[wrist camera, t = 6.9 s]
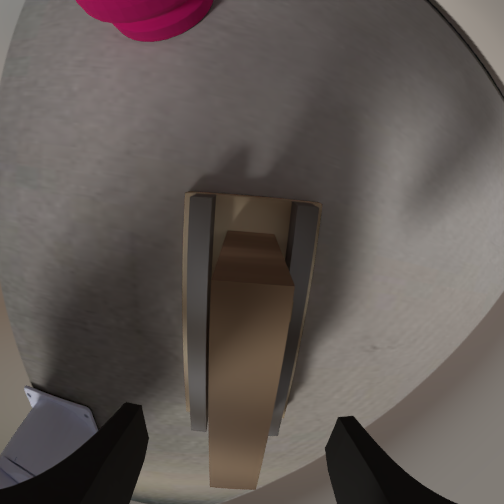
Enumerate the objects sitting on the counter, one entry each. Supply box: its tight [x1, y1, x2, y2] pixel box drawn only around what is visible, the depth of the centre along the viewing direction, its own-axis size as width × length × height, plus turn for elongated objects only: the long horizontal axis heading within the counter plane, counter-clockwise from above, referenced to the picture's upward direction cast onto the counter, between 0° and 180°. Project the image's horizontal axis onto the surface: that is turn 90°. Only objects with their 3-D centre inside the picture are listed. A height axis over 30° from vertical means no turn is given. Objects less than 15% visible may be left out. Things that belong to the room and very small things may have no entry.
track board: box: [182, 191, 322, 436], centre depth 16 cm, size 15×7×3 cm, turn 175°
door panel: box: [208, 230, 295, 490], centre depth 13 cm, size 12×3×7 cm, turn 175°
